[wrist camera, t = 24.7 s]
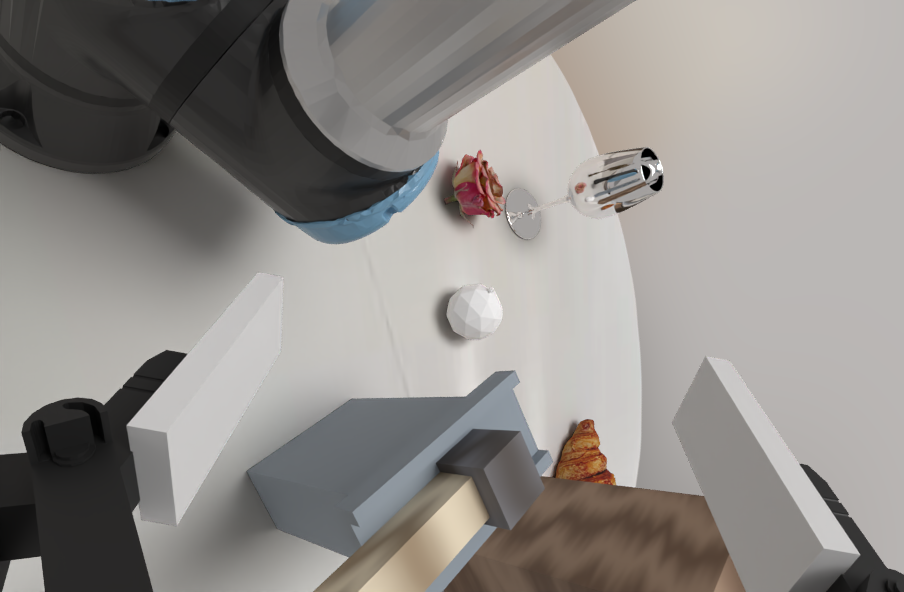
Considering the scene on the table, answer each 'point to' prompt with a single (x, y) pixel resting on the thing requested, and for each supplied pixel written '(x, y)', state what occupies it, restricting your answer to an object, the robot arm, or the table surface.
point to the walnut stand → (604, 545)
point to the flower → (476, 188)
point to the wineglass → (594, 189)
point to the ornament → (474, 311)
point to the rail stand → (380, 464)
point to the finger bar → (445, 515)
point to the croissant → (584, 457)
